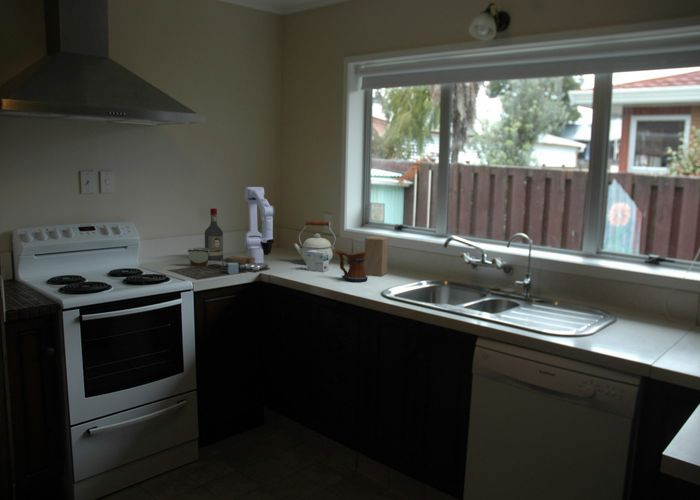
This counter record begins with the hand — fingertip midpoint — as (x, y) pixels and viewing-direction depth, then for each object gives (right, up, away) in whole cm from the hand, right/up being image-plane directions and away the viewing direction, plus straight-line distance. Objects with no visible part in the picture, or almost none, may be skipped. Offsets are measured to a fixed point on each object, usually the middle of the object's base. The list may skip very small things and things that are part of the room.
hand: (267, 254), depth 314 cm
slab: (-16, -4, +10) cm, 20 cm away
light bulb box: (+26, -9, +8) cm, 29 cm away
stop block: (-18, -7, -2) cm, 20 cm away
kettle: (+23, -6, +29) cm, 38 cm away
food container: (-39, -7, +12) cm, 41 cm away
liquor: (-36, -3, +35) cm, 50 cm away
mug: (+45, -13, -14) cm, 49 cm away
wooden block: (+58, -11, +1) cm, 59 cm away
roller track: (-13, -8, +9) cm, 18 cm away
